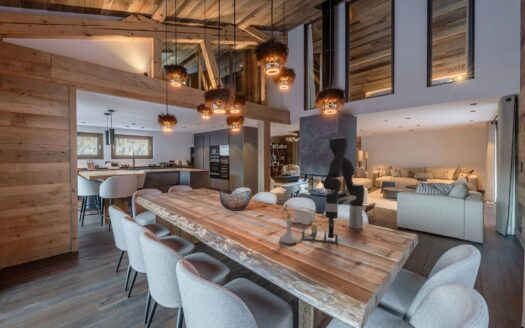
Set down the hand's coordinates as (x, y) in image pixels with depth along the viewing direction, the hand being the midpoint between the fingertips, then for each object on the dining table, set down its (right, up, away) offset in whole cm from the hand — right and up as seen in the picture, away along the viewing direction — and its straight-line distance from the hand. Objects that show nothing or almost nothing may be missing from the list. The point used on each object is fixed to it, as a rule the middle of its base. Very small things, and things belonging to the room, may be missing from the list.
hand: (330, 236), depth 146 cm
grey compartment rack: (-7, -3, +2) cm, 8 cm away
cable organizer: (-10, -2, +40) cm, 41 cm away
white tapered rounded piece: (-28, -3, -3) cm, 28 cm away
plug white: (0, -1, 0) cm, 1 cm away
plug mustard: (-8, -3, +14) cm, 16 cm away
